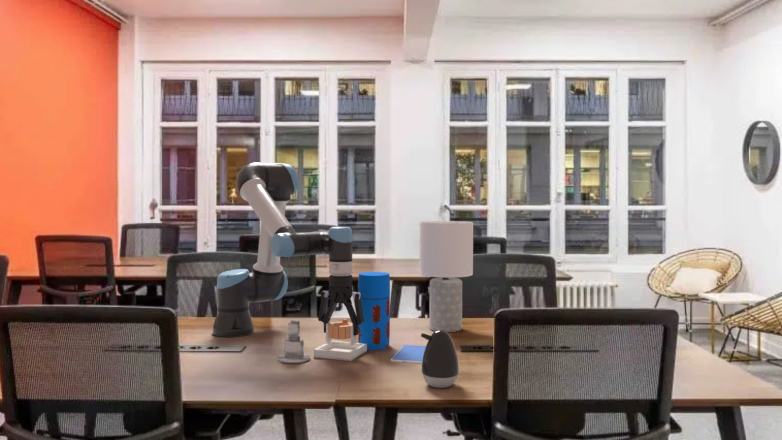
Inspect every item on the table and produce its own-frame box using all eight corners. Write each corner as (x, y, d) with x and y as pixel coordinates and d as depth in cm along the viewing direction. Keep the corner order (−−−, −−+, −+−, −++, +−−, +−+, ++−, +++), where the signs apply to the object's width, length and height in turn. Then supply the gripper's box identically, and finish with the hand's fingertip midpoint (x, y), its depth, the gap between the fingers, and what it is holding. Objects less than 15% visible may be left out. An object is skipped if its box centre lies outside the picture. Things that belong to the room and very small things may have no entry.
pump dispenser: (418, 380, 171) (418, 326, 170) (454, 379, 172) (455, 325, 171) (423, 391, 161) (423, 334, 160) (462, 390, 162) (462, 333, 161)
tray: (313, 357, 195) (313, 349, 195) (331, 347, 207) (331, 340, 207) (350, 361, 190) (350, 353, 190) (366, 351, 202) (366, 343, 202)
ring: (335, 332, 203) (335, 318, 203) (357, 334, 200) (357, 319, 200) (324, 338, 196) (324, 322, 196) (347, 340, 193) (347, 324, 193)
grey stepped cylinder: (272, 361, 189) (271, 322, 189) (288, 354, 198) (288, 316, 198) (300, 365, 186) (300, 325, 185) (315, 357, 195) (315, 318, 194)
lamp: (481, 327, 240) (481, 222, 238) (457, 337, 223) (458, 223, 221) (434, 321, 251) (435, 220, 249) (409, 330, 234) (409, 222, 232)
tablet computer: (428, 366, 187) (428, 361, 187) (389, 363, 190) (389, 359, 190) (439, 350, 206) (439, 346, 206) (403, 348, 209) (403, 344, 209)
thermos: (394, 344, 212) (395, 272, 211) (381, 351, 202) (381, 276, 201) (366, 341, 217) (367, 271, 216) (352, 347, 207) (352, 274, 206)
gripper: (306, 274, 198) (307, 343, 198) (366, 277, 190) (366, 349, 191) (317, 271, 205) (317, 338, 205) (374, 274, 197) (375, 344, 198)
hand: (341, 343), depth 198 cm, fingers closed on ring, 8 cm apart
